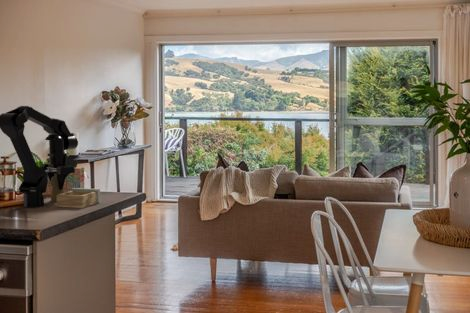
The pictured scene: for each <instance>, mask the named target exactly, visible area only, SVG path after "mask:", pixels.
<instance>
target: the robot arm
mask: <svg viewBox="0 0 470 313" xmlns="http://www.w3.org/2000/svg"><path fill="white" fill-rule="evenodd" d="M28 121H31V122H33V123H34V124H36V125H39V126H40V127H42V129H43V131H45V132H46V134H48V135H47V136H46V137H45V141H48V143H49V144H48V145H49V146H48V148H49V150H48V151H49V153H47V157H49V162H46V163H45V162H43V163H41V164H40V166H38V164H37V162H36V159H35V158H34V156H33V153H32V150H31V148H30V146H29V143H28V141H27V139H26V137H25V134H24V132H25V128H26V127H25V123H27V122H28ZM0 131H1V132H2V133H3V134H4V135H6V136H7V137H8V138H9V139H10V142H11V143H12V146H13V148H14V150H15V152H16V155H17V158H18V159H19V162H20V163H21V167H22V169H23V173H22V179H23V180H22V182H21V184H20V185H19V187H18V190H19V193H21V194H23V195H22V197H23V207H24V208H27V209H35V208H40V207H44V206H45V195H43V194H42V193H45V192H46V188H47V184H48V179H49V181H50V183H51V178H52V177H53V176H55V178H56V181H57V184H58V187H59V190H62V189H63V186H64V182H65V179H66V177H67V176H68V175H69V174H71V173H75V168H76V167H78V164H79V160H78V159H74V158H71V156H68V154H67V153H65V151H68V150H75V149H76V148H78V145H79V141H78V139H77V137H76V136H75V134H74V133H73V132H72V133H71V131H70V130H69V127H68V126H67V124H66V121H64V120H62V119H59V118H54V117H50V116H48V115H46V114H44V113H43V112H40V111H39V110H36V109H35V108H33V107H32V106H30V105H19V106H18V107H16V108H14V109H12V110H9V111H7V112H5V113H1V114H0ZM47 177H48V178H47ZM51 184H52V183H51ZM52 185H53V184H52Z"/></svg>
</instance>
